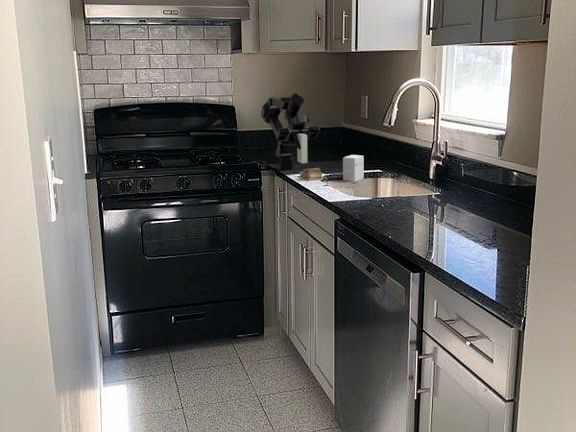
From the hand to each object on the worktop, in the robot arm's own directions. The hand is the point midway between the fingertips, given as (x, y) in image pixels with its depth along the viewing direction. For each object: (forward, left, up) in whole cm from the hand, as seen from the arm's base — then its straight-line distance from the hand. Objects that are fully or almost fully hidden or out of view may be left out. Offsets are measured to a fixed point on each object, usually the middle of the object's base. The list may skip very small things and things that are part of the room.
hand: (303, 148), depth 276 cm
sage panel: (-1, +1, -6) cm, 6 cm away
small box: (+23, +1, -13) cm, 27 cm away
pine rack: (+6, -4, -12) cm, 14 cm away
